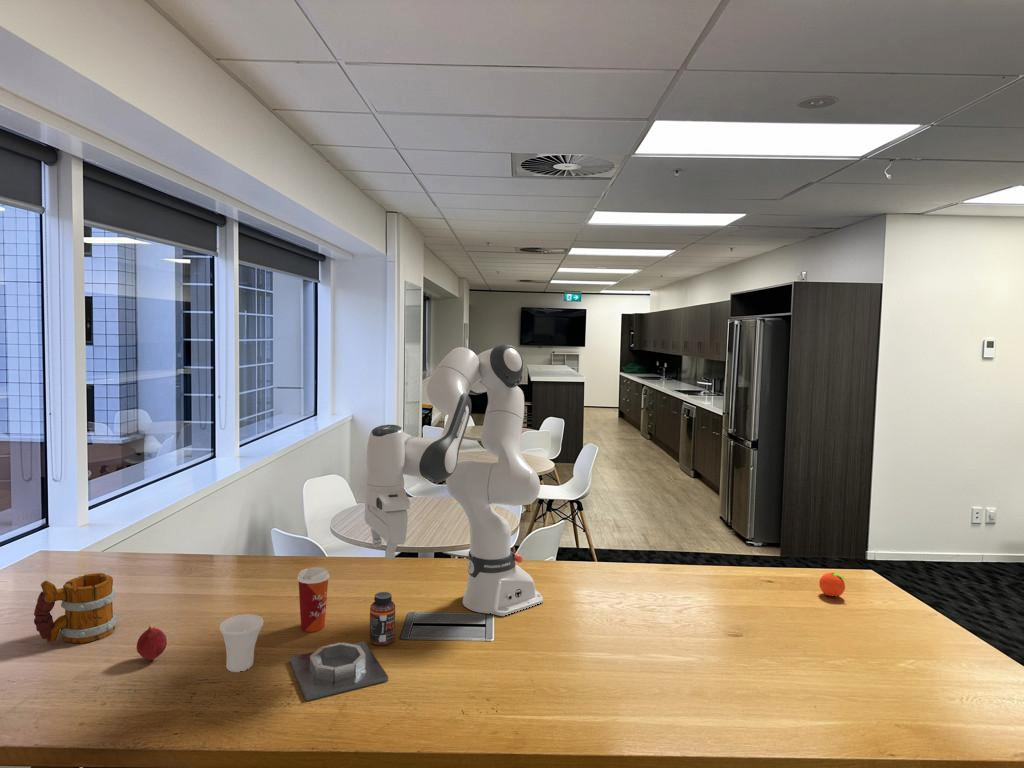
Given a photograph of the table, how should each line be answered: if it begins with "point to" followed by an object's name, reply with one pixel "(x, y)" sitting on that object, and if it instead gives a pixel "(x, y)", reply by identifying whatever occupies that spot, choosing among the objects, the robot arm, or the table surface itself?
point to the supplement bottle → (382, 619)
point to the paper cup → (313, 598)
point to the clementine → (832, 584)
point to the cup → (240, 640)
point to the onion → (151, 643)
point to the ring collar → (336, 669)
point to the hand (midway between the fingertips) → (383, 552)
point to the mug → (77, 609)
